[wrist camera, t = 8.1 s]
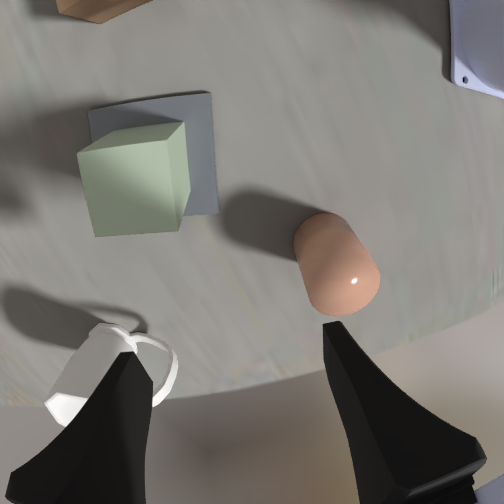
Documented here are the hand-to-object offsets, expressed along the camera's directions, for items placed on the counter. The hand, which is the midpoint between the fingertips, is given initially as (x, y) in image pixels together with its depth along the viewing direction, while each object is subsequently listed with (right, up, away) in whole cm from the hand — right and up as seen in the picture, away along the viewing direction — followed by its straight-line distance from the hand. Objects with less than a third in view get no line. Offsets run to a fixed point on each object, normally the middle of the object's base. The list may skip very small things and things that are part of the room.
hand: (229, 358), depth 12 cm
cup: (-9, -3, +13) cm, 16 cm away
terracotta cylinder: (+5, +5, +9) cm, 12 cm away
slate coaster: (-5, +9, +6) cm, 12 cm away
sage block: (-5, +9, +5) cm, 12 cm away
